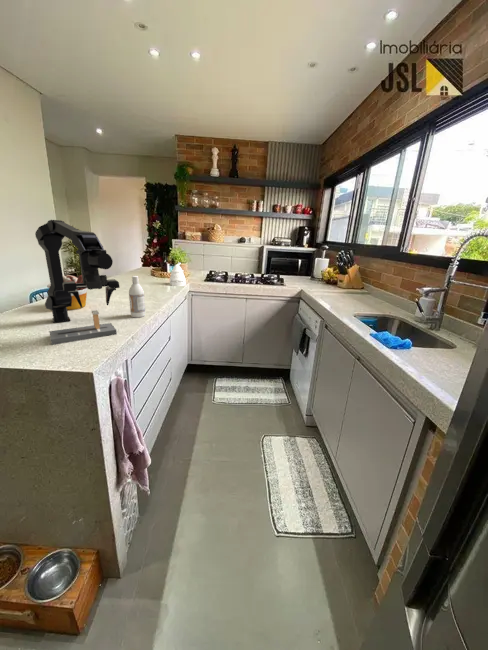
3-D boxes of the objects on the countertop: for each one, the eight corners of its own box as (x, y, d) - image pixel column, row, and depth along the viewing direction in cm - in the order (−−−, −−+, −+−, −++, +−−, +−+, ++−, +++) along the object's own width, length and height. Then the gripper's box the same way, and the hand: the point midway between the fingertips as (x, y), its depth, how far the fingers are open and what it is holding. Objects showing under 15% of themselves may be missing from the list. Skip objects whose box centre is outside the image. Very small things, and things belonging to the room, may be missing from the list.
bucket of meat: (44, 310, 135) (36, 270, 128) (67, 302, 150) (61, 267, 144) (81, 313, 134) (75, 273, 127) (100, 305, 149) (96, 269, 143)
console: (50, 336, 104) (49, 330, 103) (111, 327, 116) (110, 322, 116) (51, 344, 96) (50, 339, 95) (116, 334, 109) (116, 329, 108)
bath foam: (129, 314, 135) (126, 275, 129) (143, 313, 139) (141, 275, 132) (132, 318, 130) (128, 277, 123) (146, 316, 133) (144, 277, 127)
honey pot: (181, 282, 228) (180, 261, 222) (188, 285, 219) (188, 263, 213) (167, 284, 220) (166, 261, 214) (174, 286, 211) (173, 263, 205)
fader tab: (93, 326, 109) (91, 310, 107) (99, 325, 110) (97, 310, 108) (95, 329, 106) (92, 312, 104) (100, 328, 108) (98, 312, 105)
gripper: (61, 270, 89) (69, 314, 94) (120, 268, 100) (124, 308, 105) (59, 266, 97) (66, 307, 102) (114, 265, 108) (118, 302, 113)
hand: (94, 306), depth 105 cm, fingers open, 9 cm apart
